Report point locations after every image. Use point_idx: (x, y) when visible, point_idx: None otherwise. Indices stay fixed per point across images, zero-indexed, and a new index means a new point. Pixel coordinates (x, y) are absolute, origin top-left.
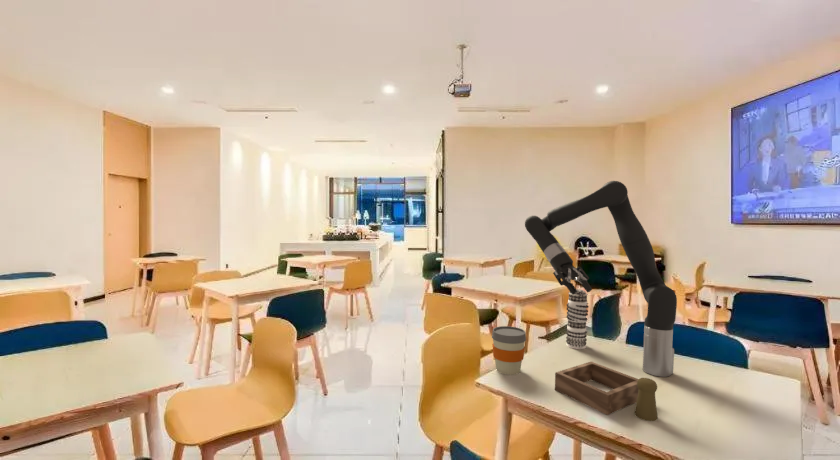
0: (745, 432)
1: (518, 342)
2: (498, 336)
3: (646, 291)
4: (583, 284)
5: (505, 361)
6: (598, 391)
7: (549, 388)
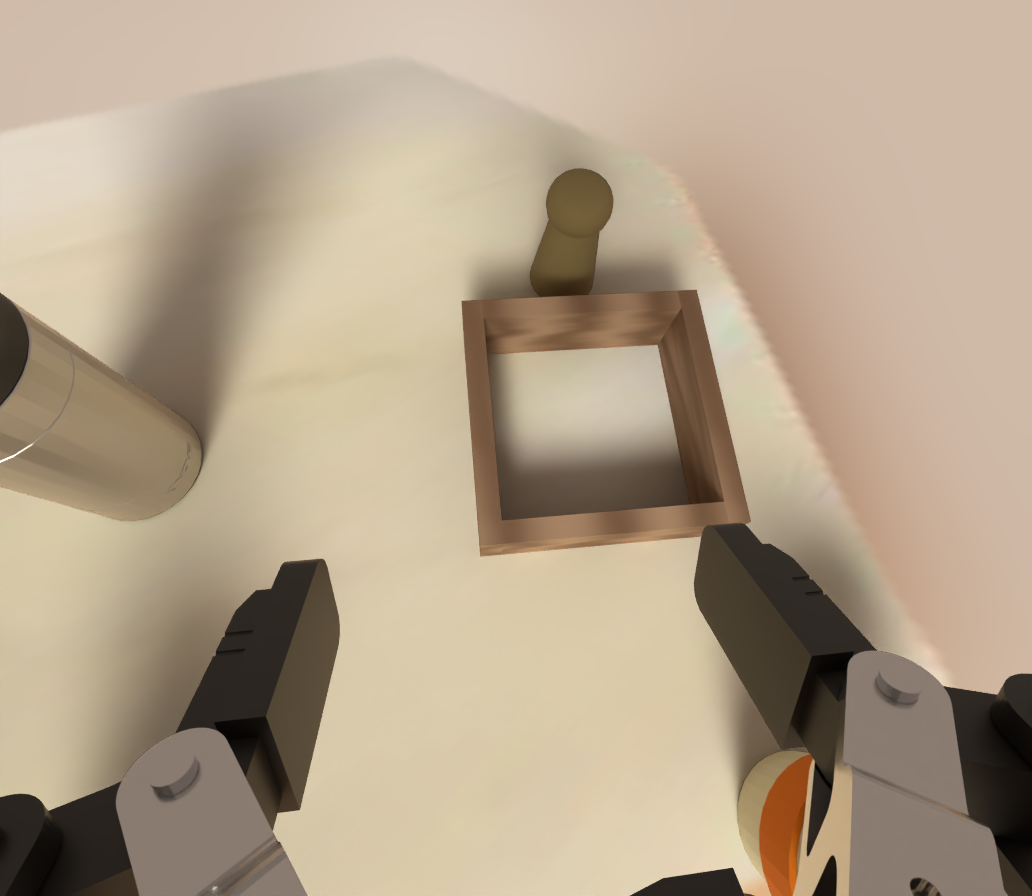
0: (395, 125)
1: None
2: None
3: None
4: (297, 754)
5: None
6: (703, 324)
7: None
